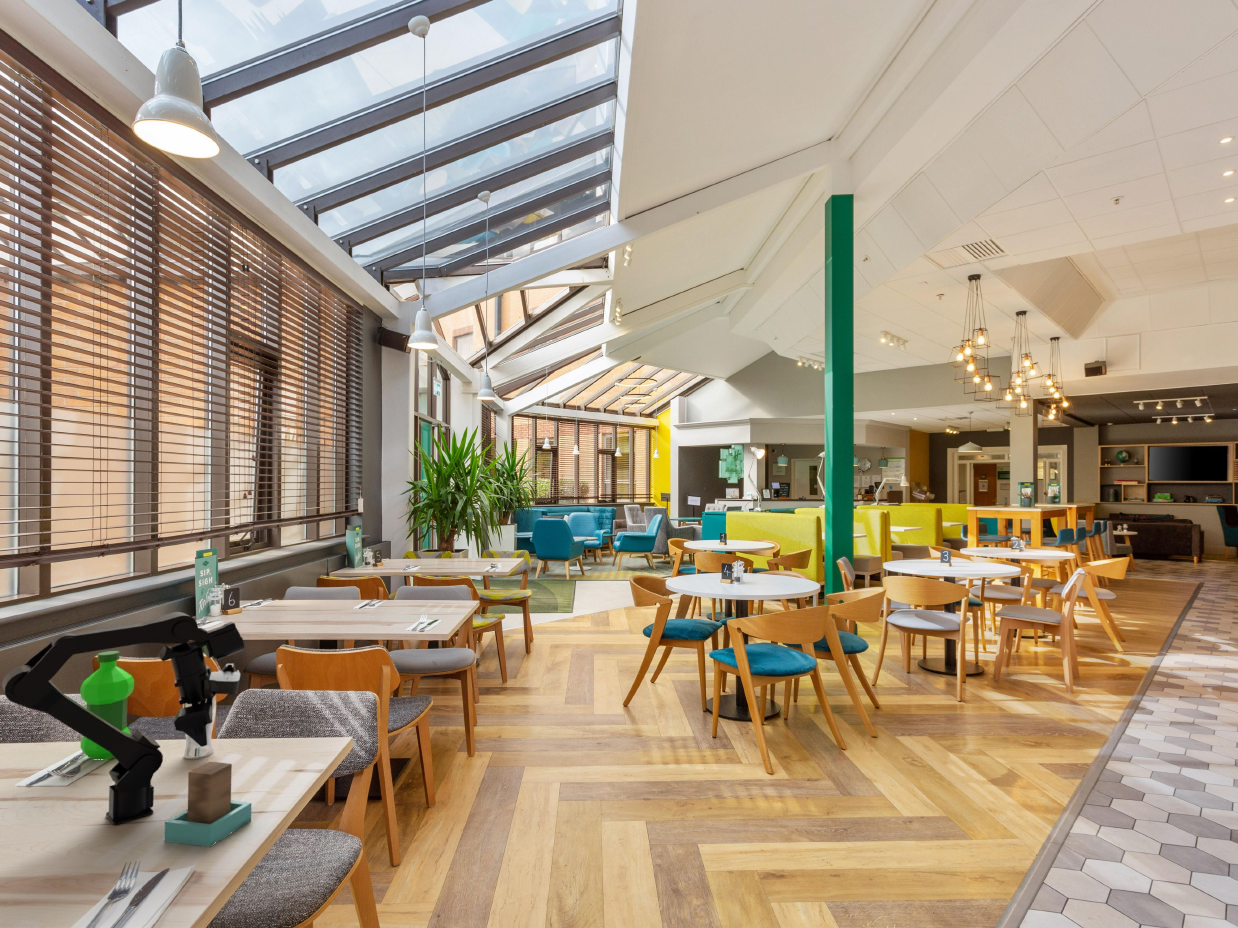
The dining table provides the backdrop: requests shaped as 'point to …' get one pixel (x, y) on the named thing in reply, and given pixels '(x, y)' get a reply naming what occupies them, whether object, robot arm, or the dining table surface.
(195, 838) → the teal tray
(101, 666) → the plastic bottle
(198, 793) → the walnut post
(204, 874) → the dining table surface
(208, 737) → the beer glass
